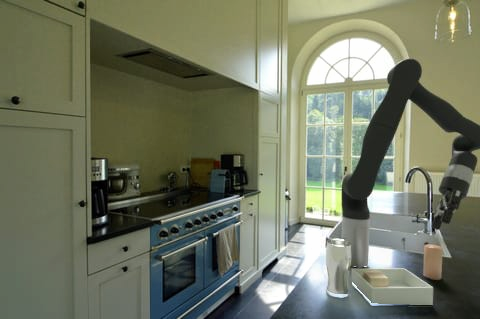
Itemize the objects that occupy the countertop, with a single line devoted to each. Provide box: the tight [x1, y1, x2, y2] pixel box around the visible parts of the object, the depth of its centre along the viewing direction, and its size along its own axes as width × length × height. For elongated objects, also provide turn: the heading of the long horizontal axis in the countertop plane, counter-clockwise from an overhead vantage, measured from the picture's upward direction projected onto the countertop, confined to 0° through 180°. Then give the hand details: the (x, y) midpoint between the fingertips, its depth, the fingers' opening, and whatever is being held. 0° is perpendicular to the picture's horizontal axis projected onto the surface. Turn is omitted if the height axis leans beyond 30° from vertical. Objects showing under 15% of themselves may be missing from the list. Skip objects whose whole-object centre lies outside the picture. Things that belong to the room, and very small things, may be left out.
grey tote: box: [351, 267, 434, 305], centre depth 86 cm, size 17×13×5 cm
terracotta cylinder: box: [422, 243, 443, 281], centre depth 99 cm, size 5×5×10 cm
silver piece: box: [325, 238, 351, 294], centre depth 86 cm, size 7×7×15 cm
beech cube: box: [362, 271, 388, 288], centre depth 86 cm, size 5×5×5 cm
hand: (439, 225), depth 92 cm, fingers open, 8 cm apart
